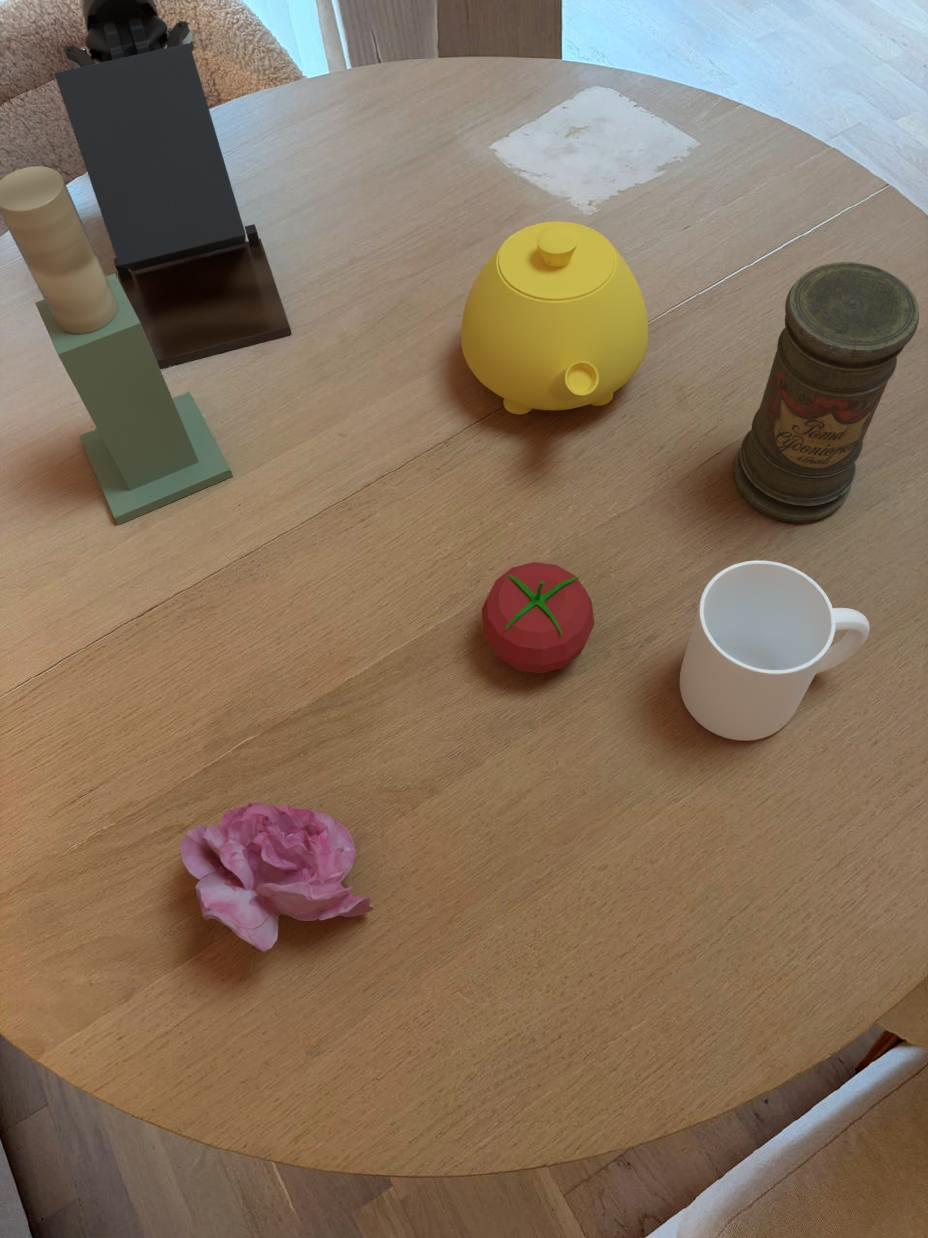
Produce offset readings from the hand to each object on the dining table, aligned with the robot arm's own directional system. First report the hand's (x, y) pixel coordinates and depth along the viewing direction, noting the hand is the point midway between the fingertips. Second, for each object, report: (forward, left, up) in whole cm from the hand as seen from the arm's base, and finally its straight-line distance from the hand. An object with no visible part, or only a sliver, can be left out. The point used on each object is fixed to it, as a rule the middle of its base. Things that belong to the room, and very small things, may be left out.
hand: (154, 137), depth 95 cm
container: (+58, +31, -8) cm, 67 cm away
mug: (+72, +18, -8) cm, 75 cm away
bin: (+13, -2, -4) cm, 14 cm away
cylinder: (+30, -13, +8) cm, 34 cm away
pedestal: (+30, -13, -8) cm, 34 cm away
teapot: (+40, +20, -8) cm, 46 cm away
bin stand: (+14, -3, -8) cm, 16 cm away
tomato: (+61, +6, -8) cm, 62 cm away
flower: (+69, -17, -8) cm, 72 cm away
